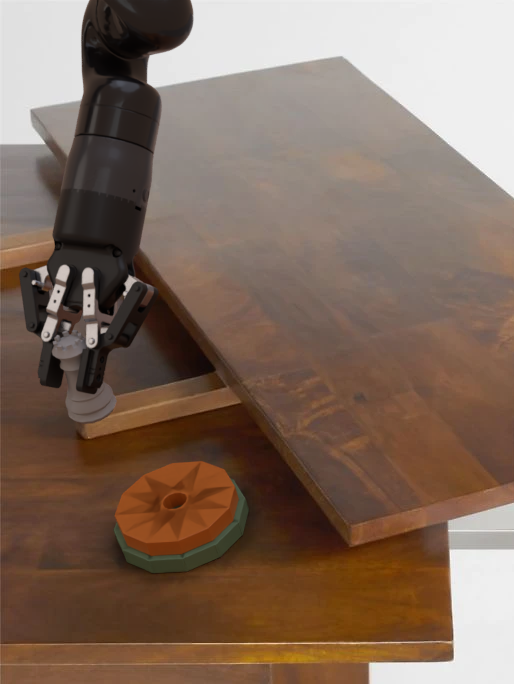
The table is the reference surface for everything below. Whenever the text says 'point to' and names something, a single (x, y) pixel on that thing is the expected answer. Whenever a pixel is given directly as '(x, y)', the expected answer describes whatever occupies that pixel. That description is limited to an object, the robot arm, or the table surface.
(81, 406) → the grey chess rook
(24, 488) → the table surface
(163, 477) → the ring stack
